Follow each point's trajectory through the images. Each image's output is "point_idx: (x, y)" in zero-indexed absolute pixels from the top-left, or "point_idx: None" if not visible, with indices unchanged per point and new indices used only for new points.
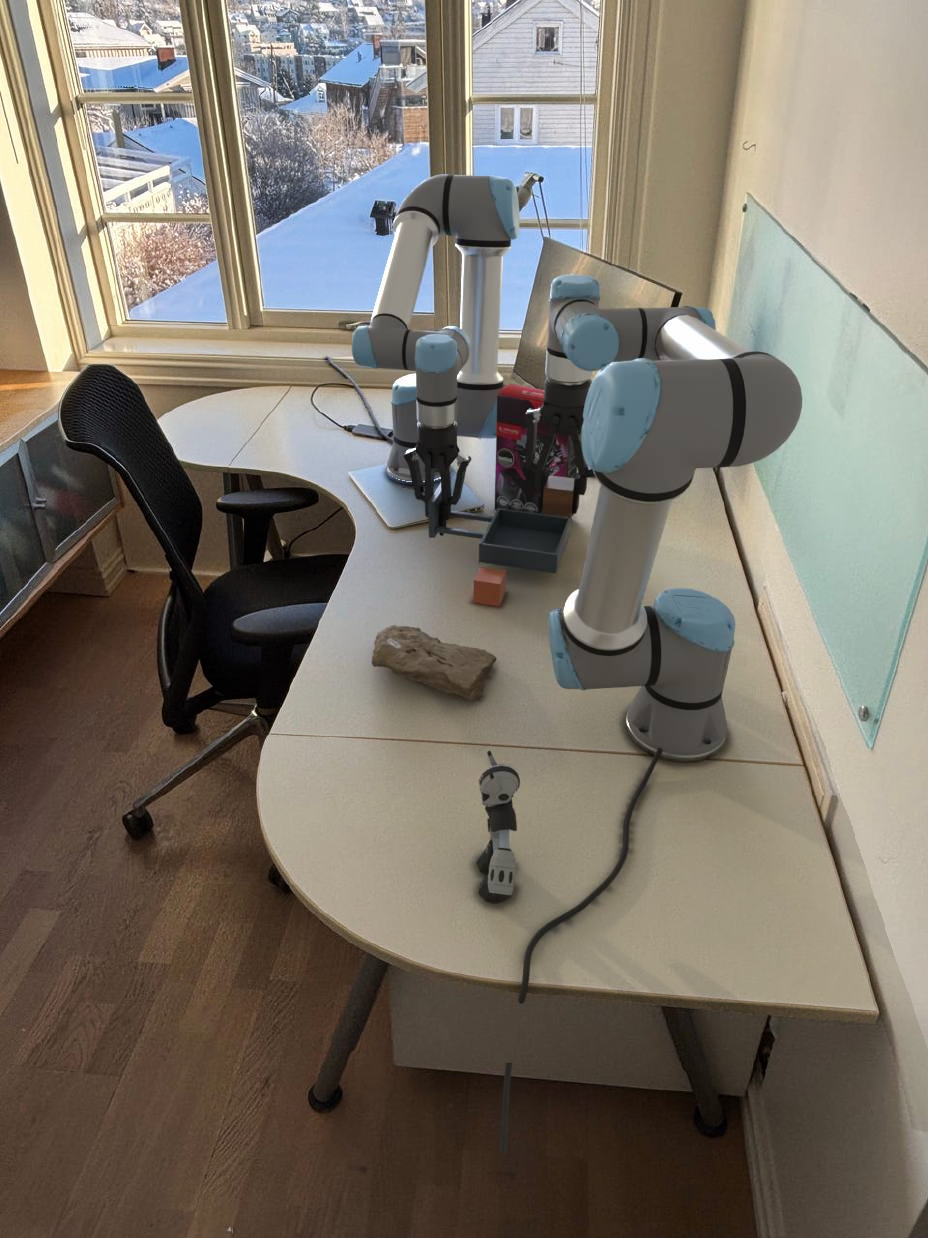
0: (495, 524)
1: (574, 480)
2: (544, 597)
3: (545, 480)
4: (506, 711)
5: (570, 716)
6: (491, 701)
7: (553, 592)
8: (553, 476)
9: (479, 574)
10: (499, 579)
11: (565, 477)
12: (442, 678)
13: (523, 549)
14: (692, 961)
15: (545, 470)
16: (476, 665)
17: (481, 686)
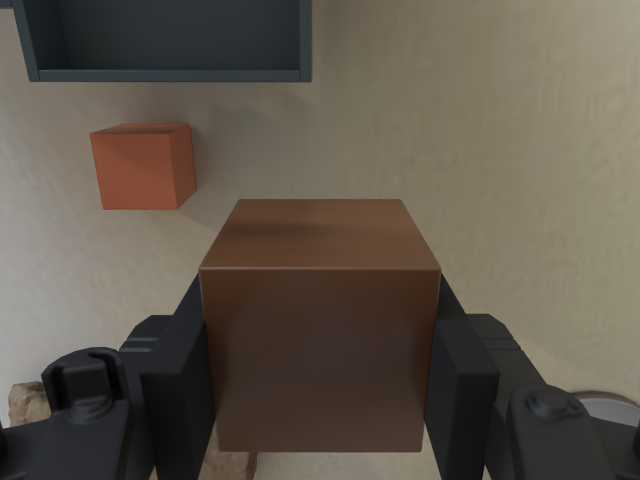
0: None
1: (441, 474)
2: (292, 114)
3: (207, 445)
4: (307, 473)
5: (408, 461)
6: (277, 459)
7: (310, 82)
8: (236, 279)
9: (104, 175)
10: (168, 187)
11: (337, 271)
12: None
13: (188, 76)
14: None
15: (162, 406)
16: (231, 458)
17: (254, 462)
